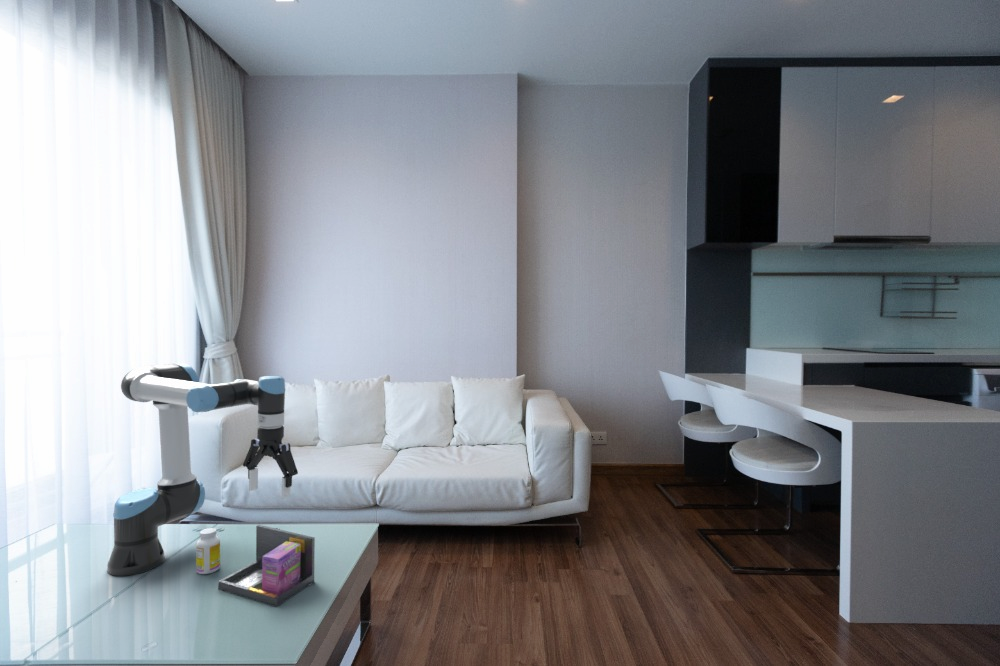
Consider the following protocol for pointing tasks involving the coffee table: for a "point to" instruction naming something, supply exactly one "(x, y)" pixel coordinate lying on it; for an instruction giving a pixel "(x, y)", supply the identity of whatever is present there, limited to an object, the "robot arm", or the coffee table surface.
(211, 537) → the supplement bottle
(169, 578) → the coffee table surface
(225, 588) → the rack
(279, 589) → the box
